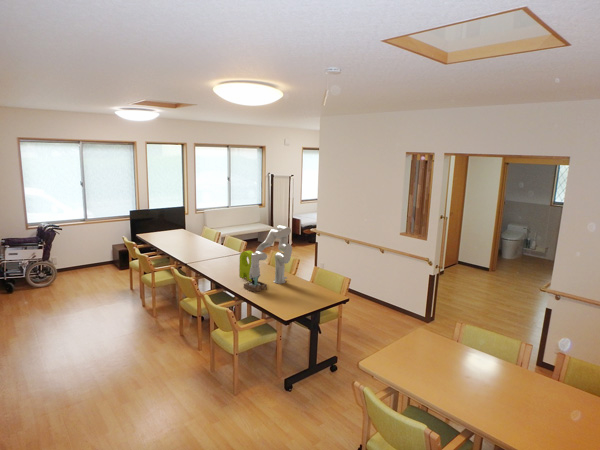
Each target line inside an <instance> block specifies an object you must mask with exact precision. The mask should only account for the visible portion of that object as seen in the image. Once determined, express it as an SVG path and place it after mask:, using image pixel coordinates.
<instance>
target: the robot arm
mask: <svg viewBox="0 0 600 450" xmlns="http://www.w3.org/2000/svg"><path fill="white" fill-rule="evenodd" d="M291 232H292V228H290V227H289V226H287V225H282V224H279V225H277V227H276V228H273V229H270V231H269V232H268V234H267V236H266V238H265V239H264V241H263V242H261V243H260V244H259V245H258V246H257V248H256V249H255V251H254V252H253V253H252V255H251V268H250V277H249V278H250V279H251V280H252V281H251V282H252V284H254V277H257V283H258V281H259V278H260V277H261V270H260V261H266V259H268V254H267V253H266V252H264V250H265V249H266V248H269V247H271V246H273V244H274V243H275V240H276V239H279V242H278V250H279V252H278V251H277V252H276V253H275V254H274V262H275V271H274V279H273V283H275V284H278V285H279V284H285V283H286V279H288V277H287V276H285V267H286V266H285V264H289V262H290V261H291V257H292V253H293V246H292V245H291V243H288V242H289V235H290V234H291ZM251 277H252V278H251Z"/></svg>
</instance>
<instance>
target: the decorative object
mask: <svg viewBox="0 0 600 450" xmlns="http://www.w3.org/2000/svg"><path fill="white" fill-rule="evenodd" d="M252 253H254V251H252V250H245V251H242V252H240V255H239V270H238V271H239V274H238V275H239V278H241V279H245V278H247V279H246V280H247V281H249V282H252V280H251V279H250V278H249V277H250V268H251V255H252ZM251 278H252V277H251Z"/></svg>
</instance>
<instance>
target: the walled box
mask: <svg viewBox="0 0 600 450" xmlns="http://www.w3.org/2000/svg"><path fill="white" fill-rule="evenodd" d="M267 288H268V285H267V283H265V282H262V281H259V280H258V283H257V285H255V286H254V285H252V281H249V282H245V283H243V289H245V290H247V291H250V292H253V293H256V292H261V291H263V290H267Z"/></svg>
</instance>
